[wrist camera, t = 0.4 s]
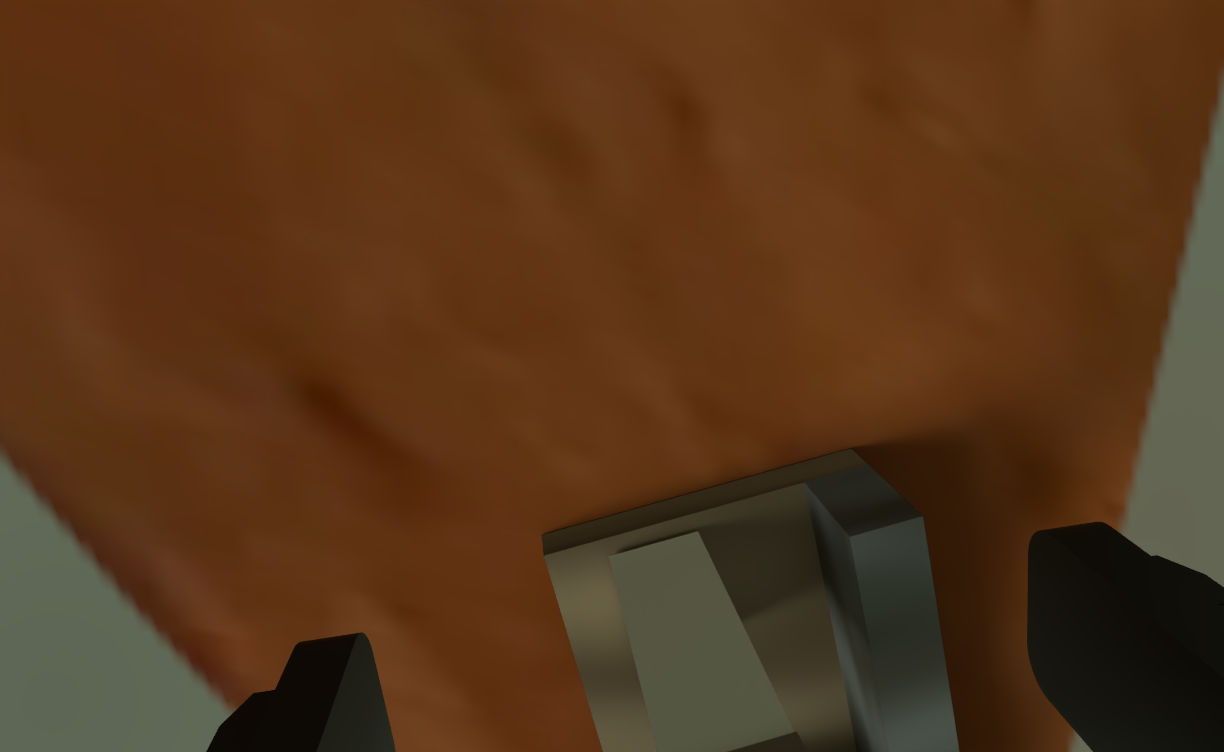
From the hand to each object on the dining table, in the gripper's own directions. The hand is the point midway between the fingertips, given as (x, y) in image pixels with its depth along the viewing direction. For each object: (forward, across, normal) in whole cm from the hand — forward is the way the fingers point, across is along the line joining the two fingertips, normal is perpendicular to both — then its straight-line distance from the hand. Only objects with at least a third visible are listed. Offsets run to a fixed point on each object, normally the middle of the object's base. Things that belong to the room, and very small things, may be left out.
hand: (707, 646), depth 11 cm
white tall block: (+17, -1, +9) cm, 19 cm away
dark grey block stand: (+19, -4, +18) cm, 26 cm away
